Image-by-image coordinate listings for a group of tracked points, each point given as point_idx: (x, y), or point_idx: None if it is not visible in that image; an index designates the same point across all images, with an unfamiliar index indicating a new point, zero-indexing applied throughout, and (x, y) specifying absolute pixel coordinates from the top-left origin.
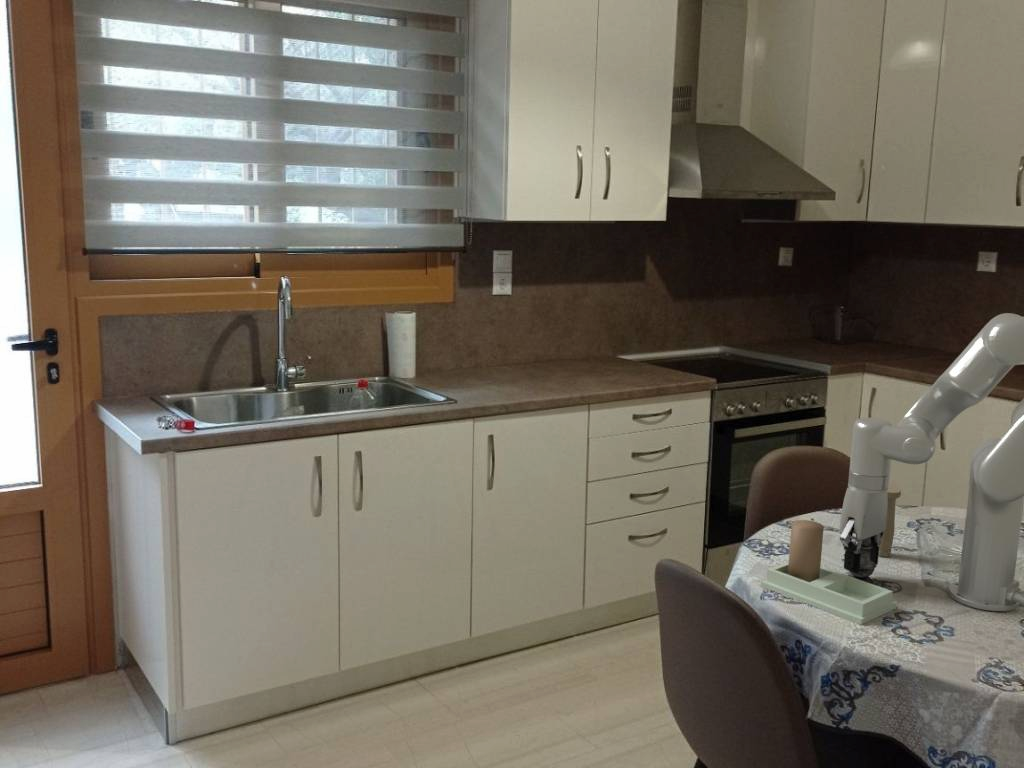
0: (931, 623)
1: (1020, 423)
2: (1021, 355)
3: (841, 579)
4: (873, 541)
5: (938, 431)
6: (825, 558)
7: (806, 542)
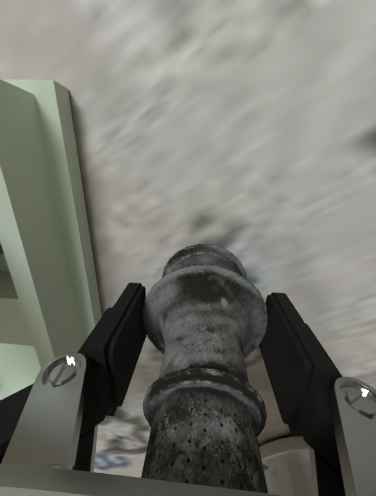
0: (112, 445)
1: None
2: None
3: (3, 341)
4: (320, 445)
5: None
6: (343, 57)
7: None
